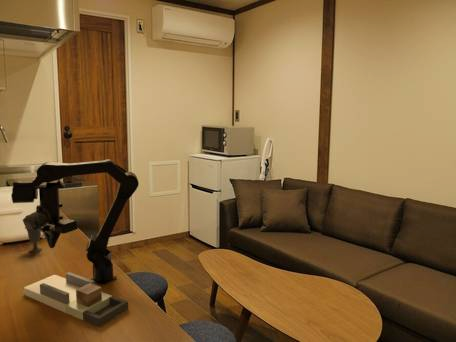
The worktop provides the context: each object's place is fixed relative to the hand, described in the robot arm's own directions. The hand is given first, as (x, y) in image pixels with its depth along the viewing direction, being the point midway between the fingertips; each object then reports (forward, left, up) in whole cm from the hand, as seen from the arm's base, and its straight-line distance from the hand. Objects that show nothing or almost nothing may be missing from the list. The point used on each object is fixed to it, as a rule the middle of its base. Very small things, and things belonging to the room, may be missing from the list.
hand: (52, 247), depth 127 cm
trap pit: (-28, +4, -13) cm, 32 cm away
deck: (-11, +4, -13) cm, 17 cm away
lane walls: (-12, +4, -11) cm, 16 cm away
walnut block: (-22, +4, -11) cm, 25 cm away
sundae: (+33, -15, -13) cm, 39 cm away
